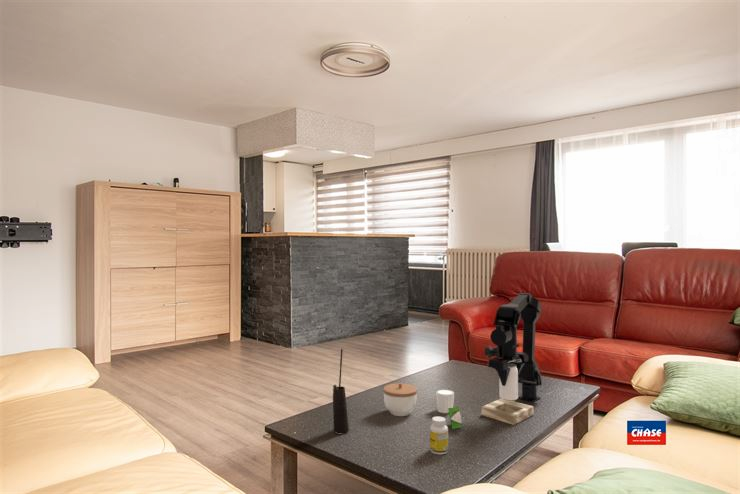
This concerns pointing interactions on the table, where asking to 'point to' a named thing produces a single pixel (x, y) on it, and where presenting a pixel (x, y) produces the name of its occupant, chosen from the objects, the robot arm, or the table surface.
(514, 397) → the can
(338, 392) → the butter churn
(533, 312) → the robot arm
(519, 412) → the frame
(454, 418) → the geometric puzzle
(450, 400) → the white cup
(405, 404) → the lidded bowl
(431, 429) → the supplement bottle
